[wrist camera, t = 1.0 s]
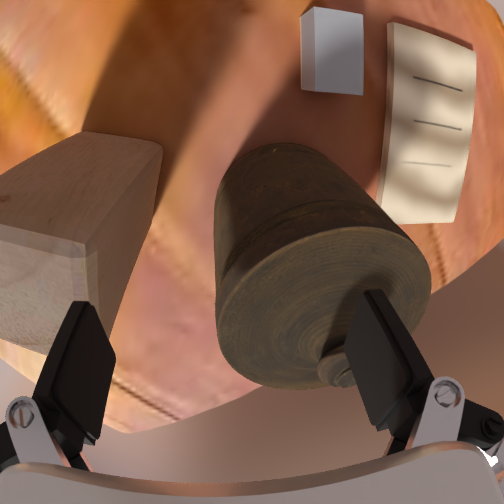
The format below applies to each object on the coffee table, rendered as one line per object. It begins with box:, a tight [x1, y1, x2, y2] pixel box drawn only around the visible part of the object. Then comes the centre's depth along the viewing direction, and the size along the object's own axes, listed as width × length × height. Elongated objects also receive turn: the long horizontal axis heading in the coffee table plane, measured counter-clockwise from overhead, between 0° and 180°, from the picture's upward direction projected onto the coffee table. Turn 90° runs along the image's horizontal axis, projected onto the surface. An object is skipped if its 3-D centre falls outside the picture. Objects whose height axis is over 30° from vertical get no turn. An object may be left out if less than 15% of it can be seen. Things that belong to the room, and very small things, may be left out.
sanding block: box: [300, 7, 364, 96], centre depth 22 cm, size 8×4×5 cm, turn 1°
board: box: [375, 22, 476, 224], centre depth 28 cm, size 24×13×2 cm, turn 1°
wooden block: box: [0, 131, 163, 356], centre depth 21 cm, size 10×10×20 cm
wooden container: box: [214, 143, 431, 390], centre depth 24 cm, size 15×15×22 cm
